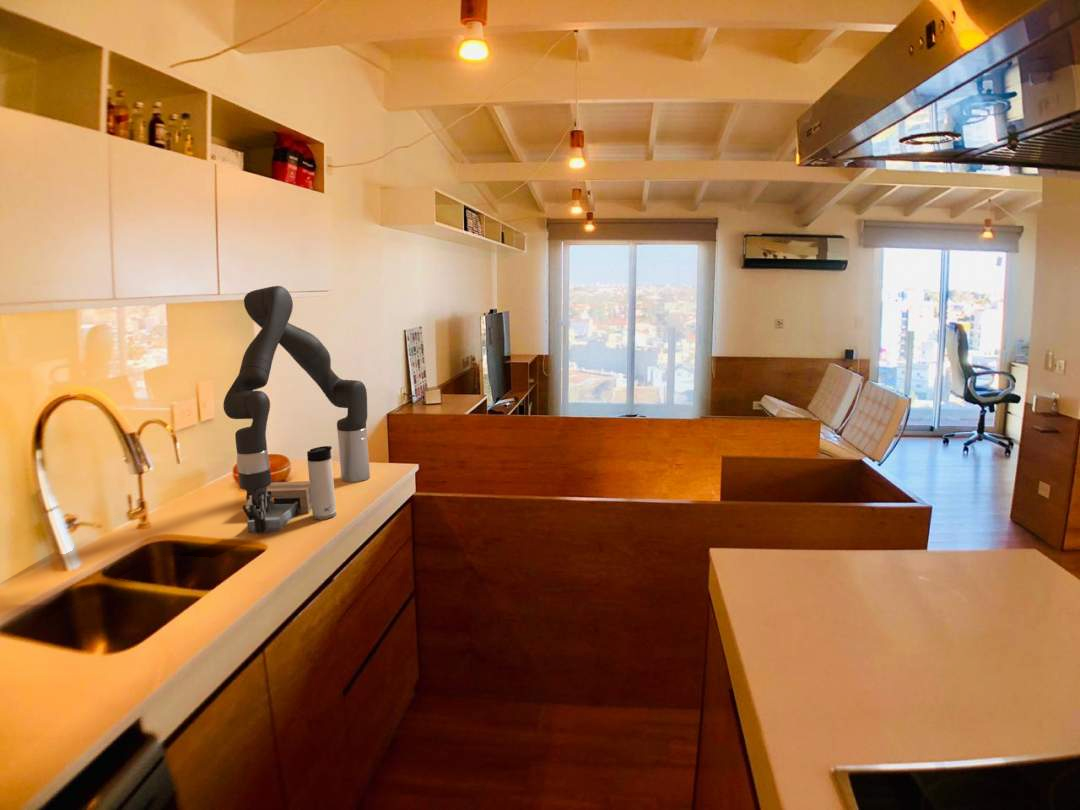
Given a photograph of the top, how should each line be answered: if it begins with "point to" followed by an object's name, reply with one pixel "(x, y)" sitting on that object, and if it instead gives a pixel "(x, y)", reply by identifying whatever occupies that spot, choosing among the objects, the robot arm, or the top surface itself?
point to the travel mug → (321, 482)
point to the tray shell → (276, 517)
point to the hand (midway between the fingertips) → (260, 532)
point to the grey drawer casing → (292, 494)
